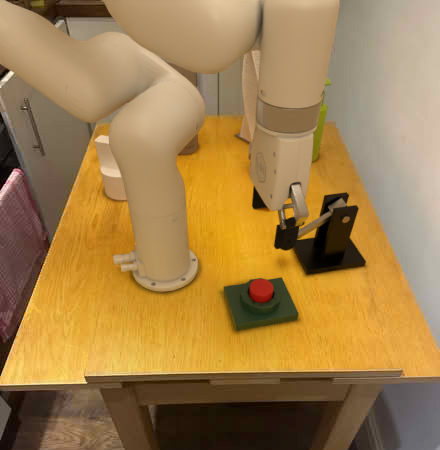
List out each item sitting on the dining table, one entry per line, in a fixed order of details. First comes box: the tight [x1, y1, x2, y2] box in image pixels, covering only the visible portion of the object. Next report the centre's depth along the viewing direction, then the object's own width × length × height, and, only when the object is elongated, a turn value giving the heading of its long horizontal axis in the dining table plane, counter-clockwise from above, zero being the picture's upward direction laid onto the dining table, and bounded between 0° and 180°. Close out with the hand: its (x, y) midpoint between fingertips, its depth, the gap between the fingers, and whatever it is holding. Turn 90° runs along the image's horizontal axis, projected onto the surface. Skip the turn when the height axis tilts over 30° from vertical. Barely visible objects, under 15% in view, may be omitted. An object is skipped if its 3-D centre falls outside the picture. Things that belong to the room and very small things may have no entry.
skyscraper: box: [235, 50, 260, 145], centre depth 104 cm, size 8×8×28 cm
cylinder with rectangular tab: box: [94, 134, 127, 201], centre depth 92 cm, size 9×9×12 cm
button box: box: [223, 276, 300, 332], centre depth 71 cm, size 11×9×4 cm
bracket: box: [292, 191, 367, 276], centre depth 77 cm, size 12×9×13 cm
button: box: [249, 278, 274, 303], centre depth 69 cm, size 4×4×2 cm
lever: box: [280, 198, 348, 252], centre depth 75 cm, size 14×3×3 cm
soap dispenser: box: [311, 76, 332, 163], centre depth 100 cm, size 6×7×20 cm
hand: (272, 225), depth 61 cm, fingers open, 9 cm apart
